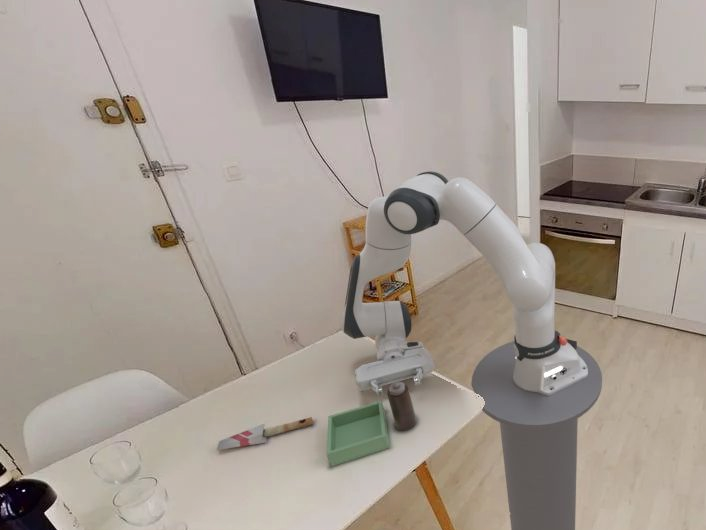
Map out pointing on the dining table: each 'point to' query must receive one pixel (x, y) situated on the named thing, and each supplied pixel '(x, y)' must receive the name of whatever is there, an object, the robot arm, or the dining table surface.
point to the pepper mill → (401, 406)
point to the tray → (356, 433)
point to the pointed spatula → (260, 434)
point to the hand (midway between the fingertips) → (398, 387)
